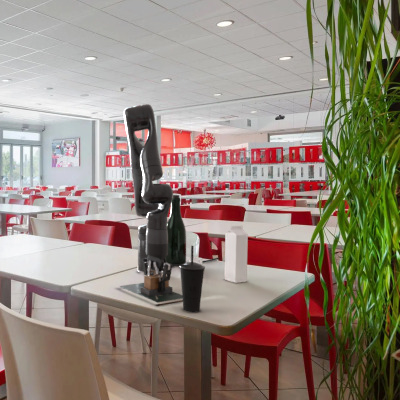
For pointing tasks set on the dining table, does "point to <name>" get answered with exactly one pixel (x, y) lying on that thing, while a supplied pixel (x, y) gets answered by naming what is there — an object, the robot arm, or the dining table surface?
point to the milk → (236, 255)
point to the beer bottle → (176, 234)
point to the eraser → (154, 286)
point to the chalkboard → (158, 298)
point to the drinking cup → (191, 284)
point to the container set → (196, 260)
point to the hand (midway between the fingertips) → (156, 290)
